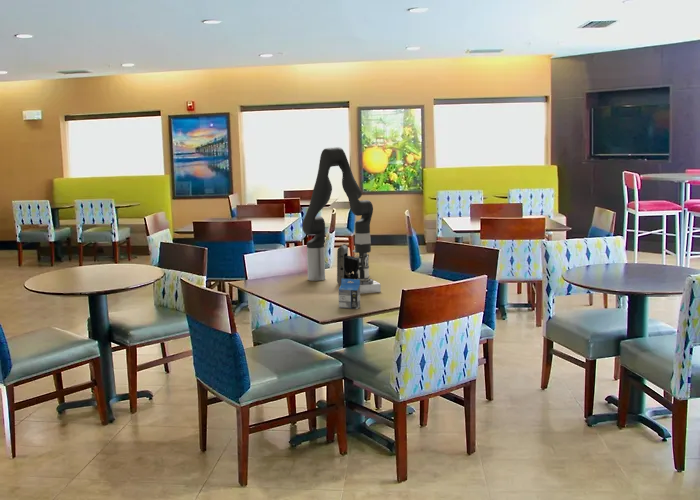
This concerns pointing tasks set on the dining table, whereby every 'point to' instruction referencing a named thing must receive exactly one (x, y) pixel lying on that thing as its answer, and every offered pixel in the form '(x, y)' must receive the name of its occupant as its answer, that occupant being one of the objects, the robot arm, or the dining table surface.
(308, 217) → the robot arm
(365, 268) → the cream grey cylinder
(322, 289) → the dining table surface
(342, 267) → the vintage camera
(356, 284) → the blue printed box
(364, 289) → the octagonal ring slab
